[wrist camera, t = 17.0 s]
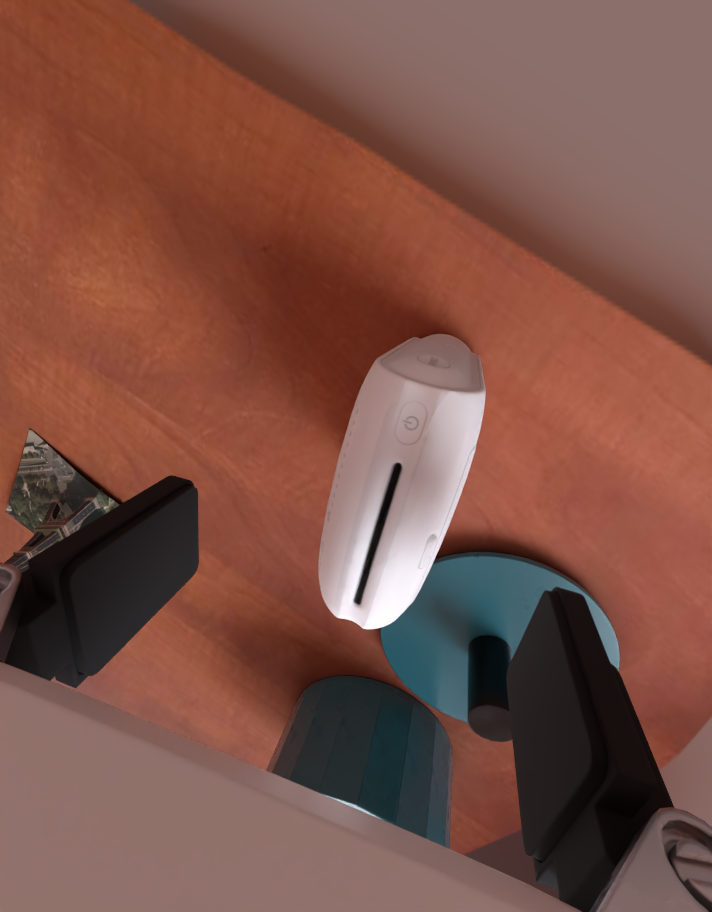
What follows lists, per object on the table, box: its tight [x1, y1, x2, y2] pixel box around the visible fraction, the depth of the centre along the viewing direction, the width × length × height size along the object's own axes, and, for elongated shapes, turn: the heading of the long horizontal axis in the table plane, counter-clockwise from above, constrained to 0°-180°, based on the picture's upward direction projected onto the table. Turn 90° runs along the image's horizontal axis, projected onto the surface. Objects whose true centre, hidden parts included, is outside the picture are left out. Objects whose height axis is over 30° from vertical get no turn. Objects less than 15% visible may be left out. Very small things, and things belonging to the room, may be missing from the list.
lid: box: [380, 552, 620, 742], centre depth 24 cm, size 15×15×6 cm
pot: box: [266, 676, 453, 849], centre depth 30 cm, size 14×14×8 cm
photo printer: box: [318, 334, 486, 629], centre depth 17 cm, size 10×4×12 cm, turn 167°
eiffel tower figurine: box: [5, 429, 119, 573], centre depth 28 cm, size 15×10×13 cm
